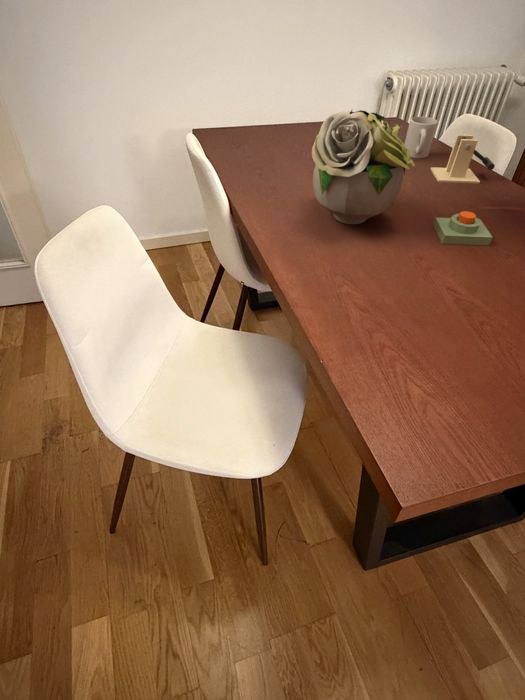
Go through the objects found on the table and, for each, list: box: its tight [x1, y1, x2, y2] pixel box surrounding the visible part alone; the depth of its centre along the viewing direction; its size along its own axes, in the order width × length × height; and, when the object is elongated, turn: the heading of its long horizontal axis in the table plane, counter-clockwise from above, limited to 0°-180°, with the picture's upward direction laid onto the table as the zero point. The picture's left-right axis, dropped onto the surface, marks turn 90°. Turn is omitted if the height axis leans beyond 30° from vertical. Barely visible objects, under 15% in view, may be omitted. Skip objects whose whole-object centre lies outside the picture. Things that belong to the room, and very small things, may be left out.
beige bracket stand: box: [430, 134, 481, 185], centre depth 118 cm, size 12×10×12 cm
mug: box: [404, 116, 438, 159], centre depth 131 cm, size 12×8×11 cm
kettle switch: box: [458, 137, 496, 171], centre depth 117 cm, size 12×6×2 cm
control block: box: [432, 213, 493, 246], centre depth 97 cm, size 11×9×4 cm
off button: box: [458, 210, 477, 224], centre depth 95 cm, size 4×4×2 cm
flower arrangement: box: [311, 109, 416, 225], centre depth 95 cm, size 25×25×24 cm
